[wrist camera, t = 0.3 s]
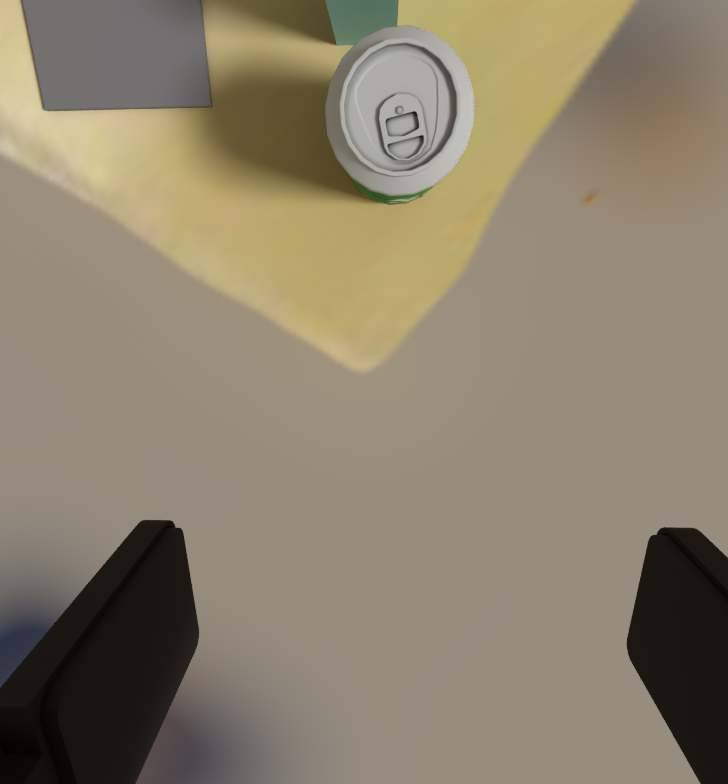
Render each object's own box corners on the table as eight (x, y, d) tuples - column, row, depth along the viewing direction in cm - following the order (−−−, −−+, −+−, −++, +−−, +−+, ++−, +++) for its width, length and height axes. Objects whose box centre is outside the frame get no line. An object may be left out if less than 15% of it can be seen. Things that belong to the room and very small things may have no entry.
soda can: (356, 216, 36) (342, 210, 24) (331, 105, 33) (304, 41, 22) (455, 191, 35) (490, 173, 23) (437, 76, 32) (465, -7, 21)
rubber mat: (5, -103, 30) (0, -107, 30) (190, -111, 30) (187, -116, 29) (48, 111, 34) (44, 109, 34) (212, 107, 34) (210, 105, 33)
